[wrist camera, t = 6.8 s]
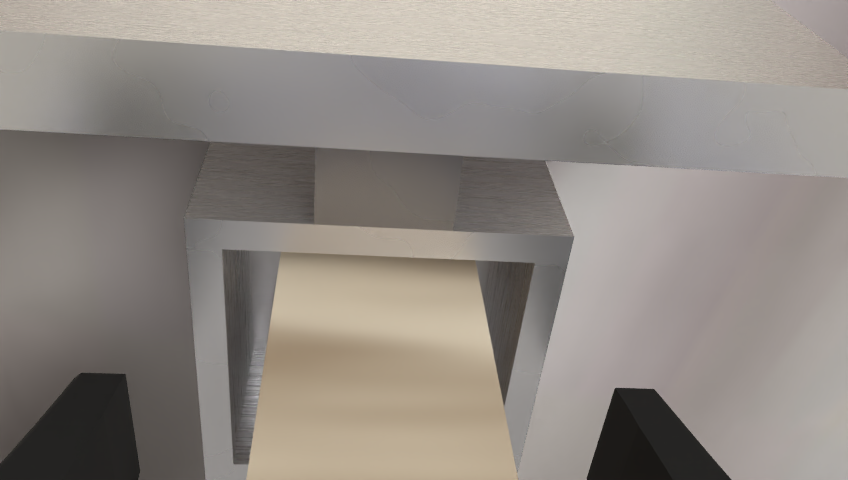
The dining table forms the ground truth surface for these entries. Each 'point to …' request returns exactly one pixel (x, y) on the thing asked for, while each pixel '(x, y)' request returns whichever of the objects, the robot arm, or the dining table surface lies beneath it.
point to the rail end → (379, 374)
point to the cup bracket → (414, 138)
